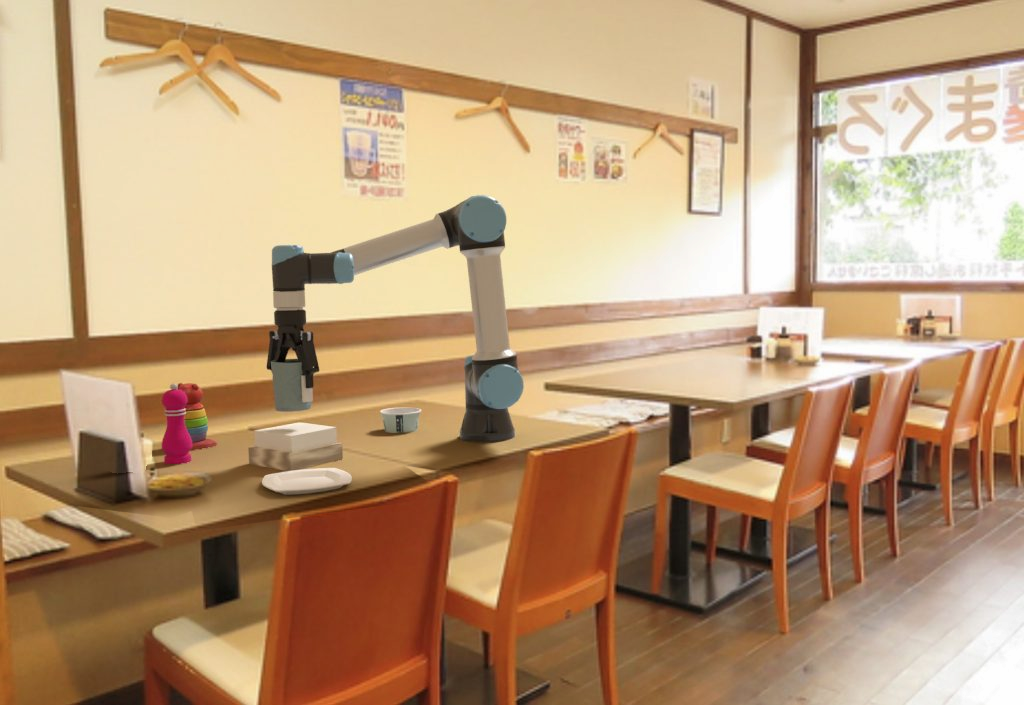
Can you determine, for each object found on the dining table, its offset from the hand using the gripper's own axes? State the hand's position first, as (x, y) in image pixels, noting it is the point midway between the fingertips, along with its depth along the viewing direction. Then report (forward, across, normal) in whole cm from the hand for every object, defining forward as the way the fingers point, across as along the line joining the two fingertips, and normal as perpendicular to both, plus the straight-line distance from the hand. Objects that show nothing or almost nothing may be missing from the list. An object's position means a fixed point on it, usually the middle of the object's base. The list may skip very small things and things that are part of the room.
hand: (293, 400), depth 217 cm
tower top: (+11, 0, 0) cm, 11 cm away
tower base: (+16, 0, 0) cm, 16 cm away
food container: (+16, +7, -44) cm, 47 cm away
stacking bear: (+16, +40, +3) cm, 43 cm away
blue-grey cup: (+2, 0, 0) cm, 2 cm away
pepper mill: (+16, +26, +16) cm, 34 cm away
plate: (+16, -21, +14) cm, 30 cm away
